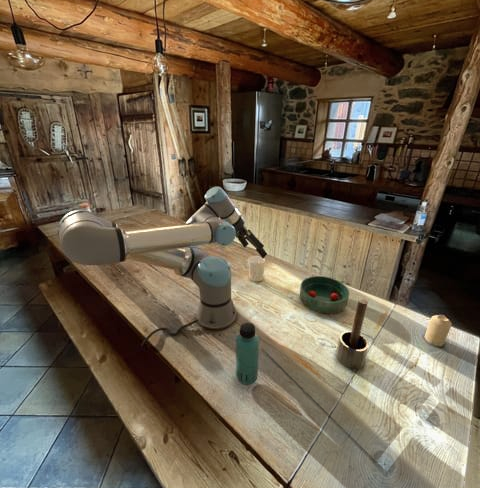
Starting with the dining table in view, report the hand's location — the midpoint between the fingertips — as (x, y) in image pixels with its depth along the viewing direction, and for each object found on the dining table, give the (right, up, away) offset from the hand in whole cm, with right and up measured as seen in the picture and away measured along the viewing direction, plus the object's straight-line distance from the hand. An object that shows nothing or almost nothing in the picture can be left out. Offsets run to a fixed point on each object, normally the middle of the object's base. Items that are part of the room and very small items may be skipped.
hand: (255, 250), depth 121 cm
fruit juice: (-91, +10, +27) cm, 95 cm away
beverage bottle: (-5, -36, -44) cm, 57 cm away
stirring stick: (+28, -33, -37) cm, 57 cm away
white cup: (+1, -14, +7) cm, 15 cm away
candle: (+60, -30, -30) cm, 73 cm away
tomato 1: (+24, -18, -9) cm, 31 cm away
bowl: (+28, -21, -9) cm, 36 cm away
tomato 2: (+32, -19, -11) cm, 39 cm away
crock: (+28, -33, -37) cm, 57 cm away
